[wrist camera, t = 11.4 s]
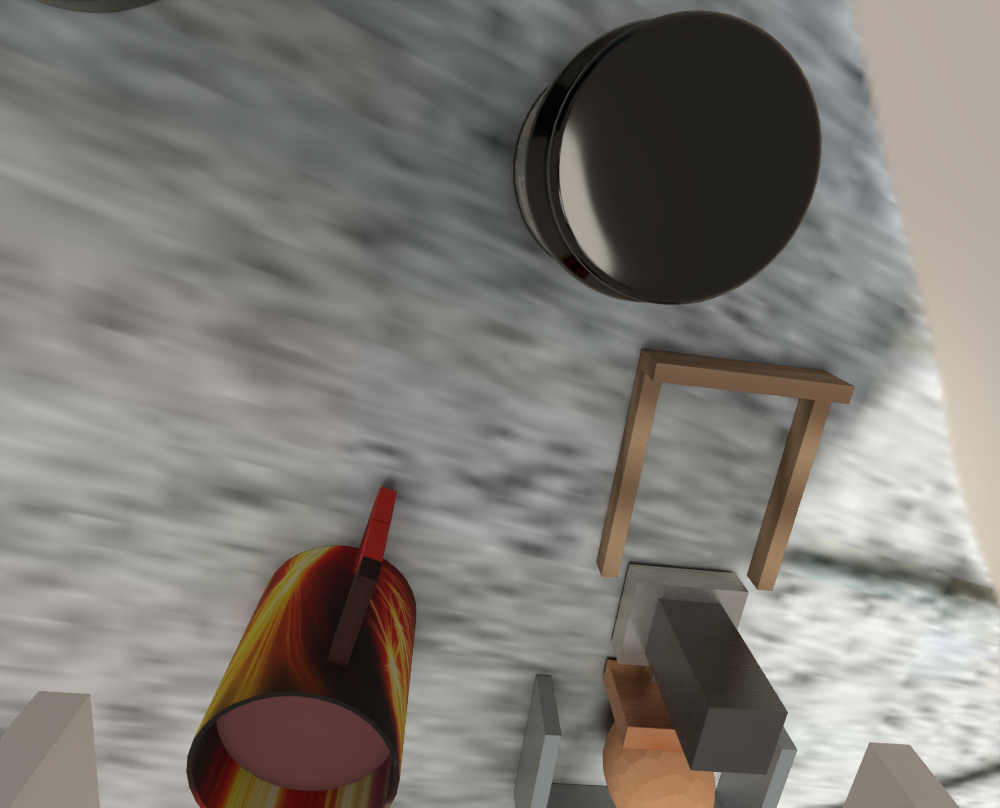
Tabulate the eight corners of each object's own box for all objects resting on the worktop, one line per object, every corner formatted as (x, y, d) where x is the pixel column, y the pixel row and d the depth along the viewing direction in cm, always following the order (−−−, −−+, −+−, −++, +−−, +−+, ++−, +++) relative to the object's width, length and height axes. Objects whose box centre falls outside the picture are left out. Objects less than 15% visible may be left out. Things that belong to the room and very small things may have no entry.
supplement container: (753, 143, 33) (903, 124, 22) (628, 312, 36) (706, 373, 25) (590, 9, 31) (666, -90, 20) (469, 200, 34) (474, 211, 22)
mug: (397, 475, 38) (371, 599, 27) (425, 664, 43) (412, 838, 32) (233, 491, 38) (136, 623, 27) (278, 680, 43) (213, 861, 31)
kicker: (629, 564, 41) (684, 688, 31) (735, 573, 42) (822, 698, 32) (603, 679, 44) (645, 827, 34) (702, 686, 44) (773, 833, 34)
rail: (641, 348, 37) (656, 362, 34) (825, 370, 38) (854, 386, 35) (596, 562, 41) (606, 591, 38) (761, 577, 42) (783, 605, 39)
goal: (536, 674, 44) (545, 735, 39) (762, 690, 45) (797, 750, 40) (514, 792, 47) (519, 860, 42) (725, 802, 48) (753, 870, 44)
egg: (700, 685, 45) (756, 802, 36) (671, 760, 47) (718, 887, 38) (606, 672, 44) (641, 789, 35) (581, 749, 46) (608, 877, 38)
